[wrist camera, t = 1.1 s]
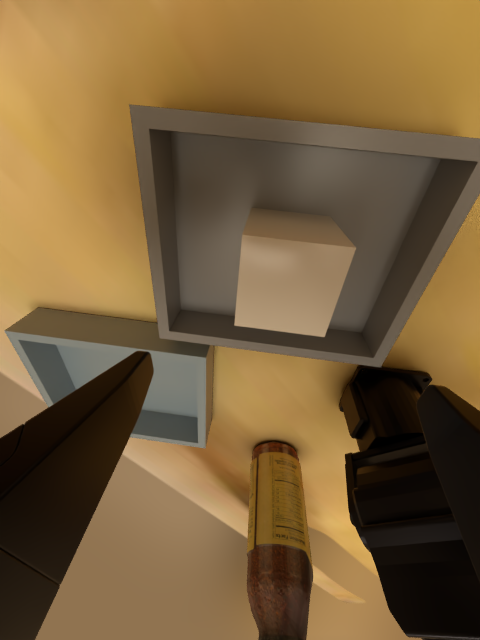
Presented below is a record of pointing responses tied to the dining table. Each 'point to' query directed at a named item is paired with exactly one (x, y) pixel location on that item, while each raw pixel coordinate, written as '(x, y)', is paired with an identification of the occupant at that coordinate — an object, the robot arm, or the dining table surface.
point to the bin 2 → (300, 197)
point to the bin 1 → (109, 349)
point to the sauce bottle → (278, 544)
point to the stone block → (291, 271)
